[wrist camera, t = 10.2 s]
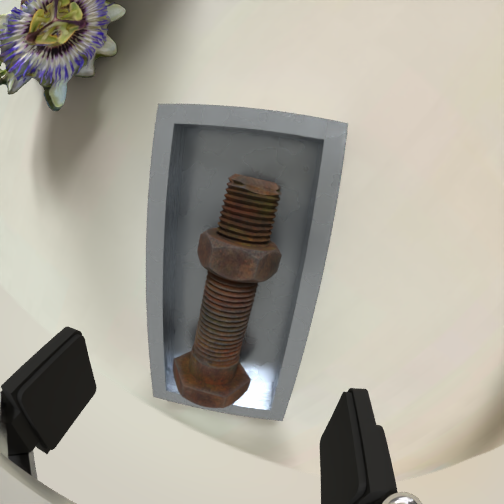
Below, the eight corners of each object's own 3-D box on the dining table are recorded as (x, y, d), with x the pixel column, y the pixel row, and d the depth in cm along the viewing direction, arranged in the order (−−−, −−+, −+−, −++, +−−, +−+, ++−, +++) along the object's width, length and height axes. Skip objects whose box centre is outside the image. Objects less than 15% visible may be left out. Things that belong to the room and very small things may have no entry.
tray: (344, 131, 18) (357, 125, 14) (288, 395, 24) (289, 421, 21) (169, 112, 18) (150, 104, 15) (160, 372, 25) (147, 394, 22)
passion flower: (138, 66, 22) (75, 125, 15) (50, 69, 20) (-24, 128, 13) (151, -40, 13) (75, -42, 6) (51, -23, 11) (-41, 5, 4)
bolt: (270, 180, 20) (226, 359, 24) (201, 165, 18) (168, 361, 22) (322, 196, 15) (254, 407, 19) (234, 175, 13) (186, 415, 17)
